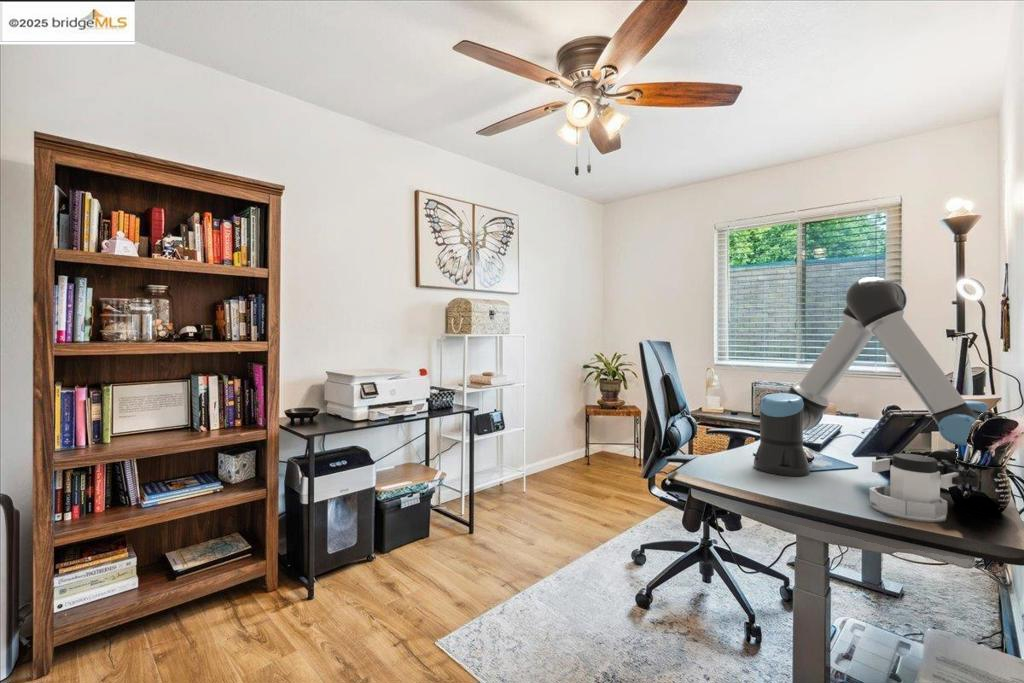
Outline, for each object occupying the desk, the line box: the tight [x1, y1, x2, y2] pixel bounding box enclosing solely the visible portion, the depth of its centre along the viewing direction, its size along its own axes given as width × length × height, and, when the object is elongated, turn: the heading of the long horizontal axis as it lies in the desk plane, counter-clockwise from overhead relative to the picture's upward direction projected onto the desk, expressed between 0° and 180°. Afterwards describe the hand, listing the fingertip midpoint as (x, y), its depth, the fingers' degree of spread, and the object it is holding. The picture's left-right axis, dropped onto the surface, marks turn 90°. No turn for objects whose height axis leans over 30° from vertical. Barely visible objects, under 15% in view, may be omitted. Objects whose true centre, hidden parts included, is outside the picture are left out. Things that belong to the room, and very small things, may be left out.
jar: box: [889, 452, 941, 504], centre depth 110 cm, size 9×8×12 cm
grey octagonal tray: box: [869, 484, 948, 523], centre depth 111 cm, size 14×14×4 cm
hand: (906, 474), depth 110 cm, fingers open, 13 cm apart
